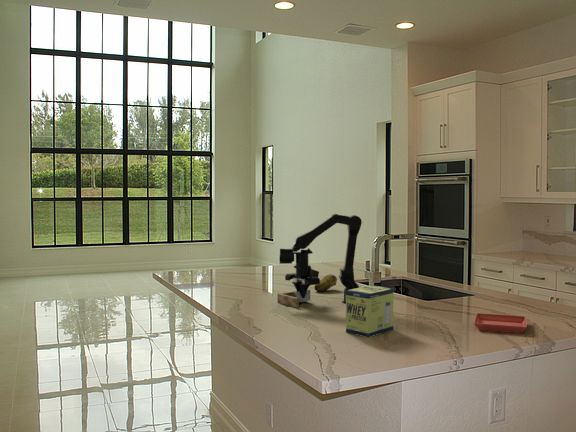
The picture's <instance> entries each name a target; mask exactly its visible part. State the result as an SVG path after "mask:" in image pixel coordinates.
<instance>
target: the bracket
mask: <svg viewBox="0 0 576 432" xmlns="http://www.w3.org/2000/svg"><path fill="white" fill-rule="evenodd" d="M294 291H295V297H296V298H299V303H304V302H310V301H311V289H309V288H308V290H307V292H306V295H305V298H302V295H301V291H297V290H294Z"/></svg>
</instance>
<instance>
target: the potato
mask: <svg viewBox="0 0 576 432" xmlns="http://www.w3.org/2000/svg"><path fill="white" fill-rule="evenodd" d="M337 281H338V278H337V276H336V275H334V274H327V275H325V276H324V277H323V278H321V279H320V284H315V285H313V287H314V290H315V292H318V293H319V292H325V291H327V290H329V289H330V288H333V287H334V286H336V285H337V283H338V282H337Z"/></svg>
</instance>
